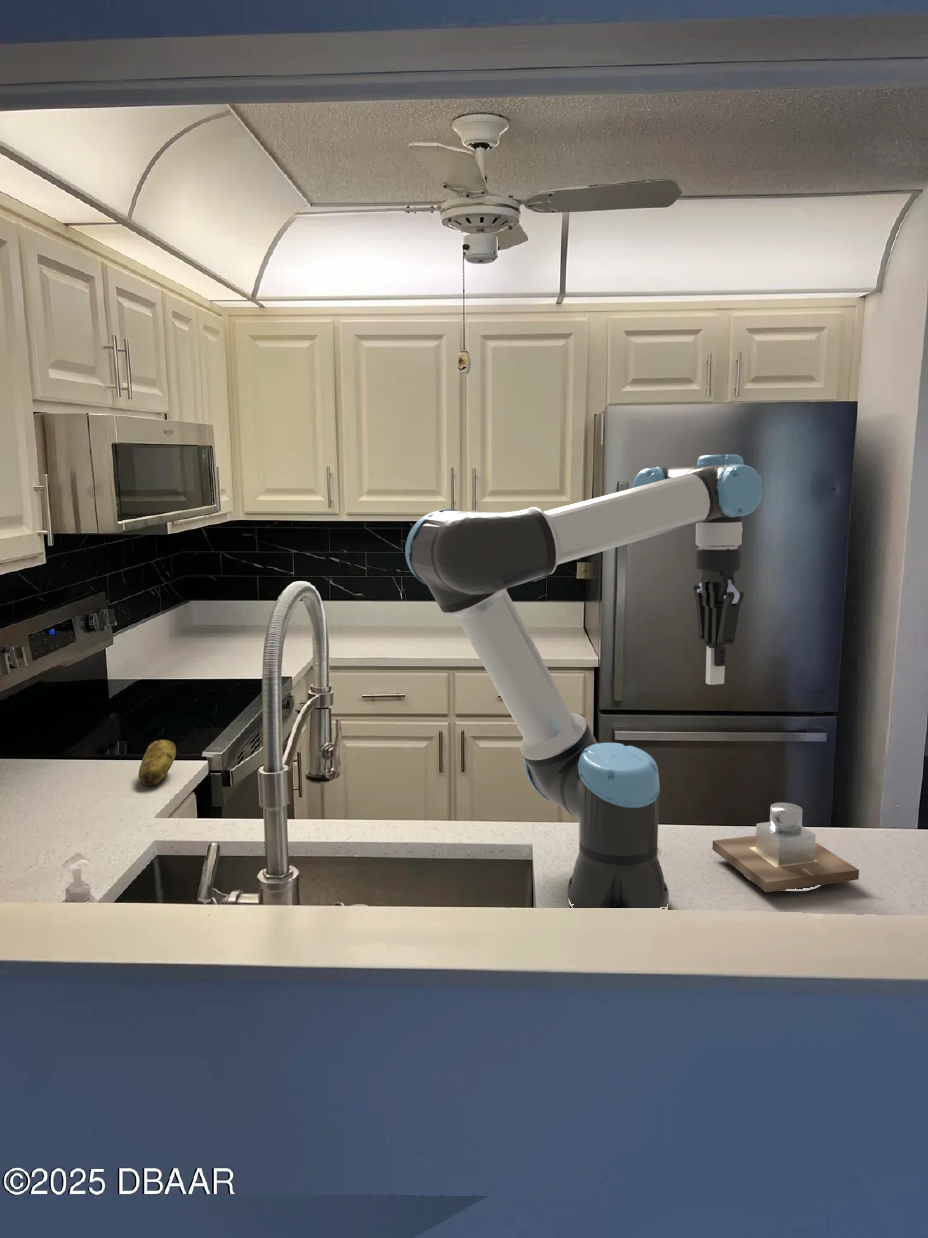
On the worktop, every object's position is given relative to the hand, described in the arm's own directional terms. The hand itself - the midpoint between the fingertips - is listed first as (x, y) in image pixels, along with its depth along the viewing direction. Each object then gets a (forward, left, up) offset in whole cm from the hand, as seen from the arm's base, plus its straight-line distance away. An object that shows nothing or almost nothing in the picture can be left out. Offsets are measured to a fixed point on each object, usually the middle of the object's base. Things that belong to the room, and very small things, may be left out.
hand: (714, 683), depth 149 cm
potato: (-93, -73, -29) cm, 122 cm away
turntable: (+16, -1, -27) cm, 31 cm away
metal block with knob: (+16, -2, -25) cm, 30 cm away
